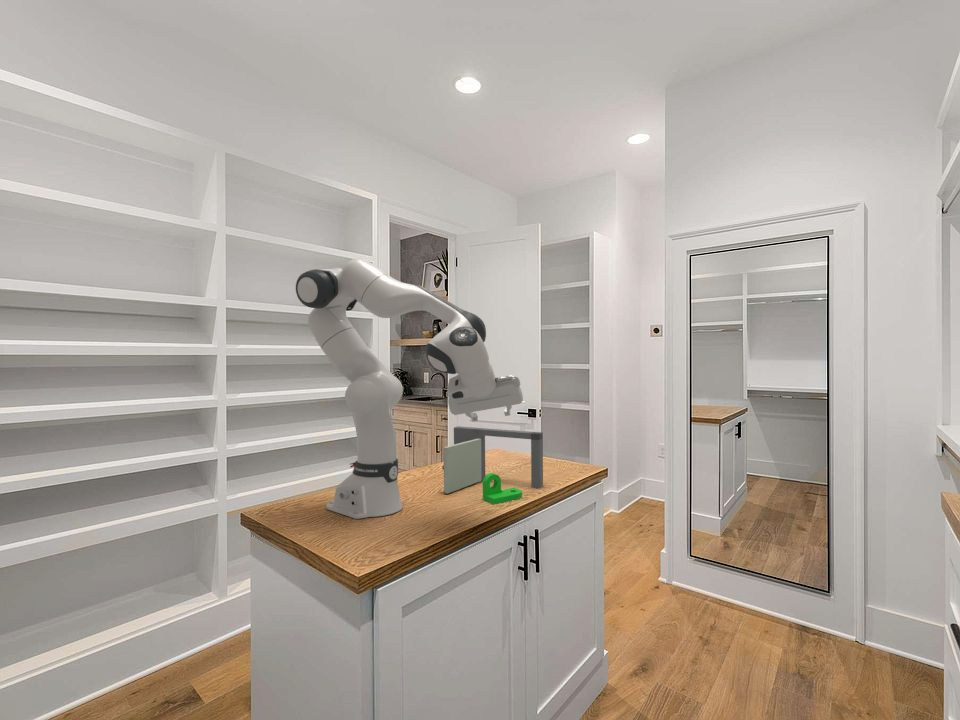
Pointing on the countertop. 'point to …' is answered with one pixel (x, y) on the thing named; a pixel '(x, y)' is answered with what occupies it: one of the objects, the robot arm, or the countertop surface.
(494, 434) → the wall frame
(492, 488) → the mechanical part
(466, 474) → the door
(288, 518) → the countertop surface
